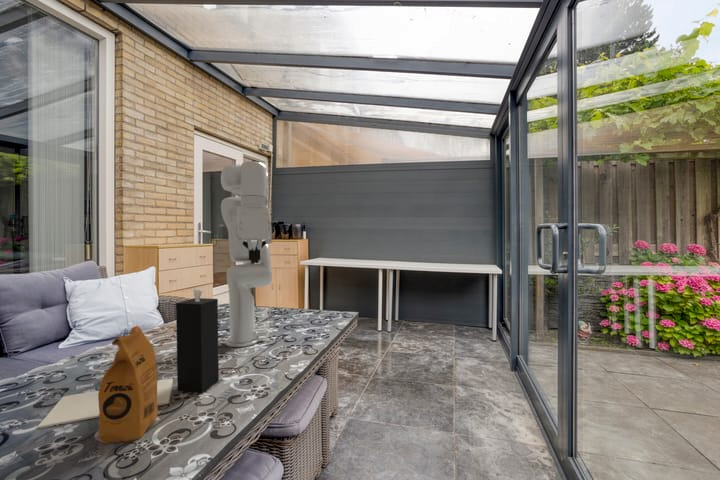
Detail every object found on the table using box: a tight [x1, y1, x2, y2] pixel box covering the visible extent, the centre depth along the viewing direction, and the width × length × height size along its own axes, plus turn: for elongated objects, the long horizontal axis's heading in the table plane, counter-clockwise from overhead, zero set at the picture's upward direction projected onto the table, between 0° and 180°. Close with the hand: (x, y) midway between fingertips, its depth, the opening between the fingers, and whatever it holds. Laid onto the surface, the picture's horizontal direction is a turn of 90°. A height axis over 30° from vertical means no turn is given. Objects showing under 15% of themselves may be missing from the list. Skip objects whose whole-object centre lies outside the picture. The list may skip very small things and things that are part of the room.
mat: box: [37, 378, 174, 430], centre depth 90 cm, size 26×16×1 cm, turn 115°
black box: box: [175, 289, 220, 394], centre depth 98 cm, size 8×8×28 cm
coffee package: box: [98, 325, 159, 444], centre depth 77 cm, size 10×12×22 cm
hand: (254, 262), depth 105 cm, fingers closed
